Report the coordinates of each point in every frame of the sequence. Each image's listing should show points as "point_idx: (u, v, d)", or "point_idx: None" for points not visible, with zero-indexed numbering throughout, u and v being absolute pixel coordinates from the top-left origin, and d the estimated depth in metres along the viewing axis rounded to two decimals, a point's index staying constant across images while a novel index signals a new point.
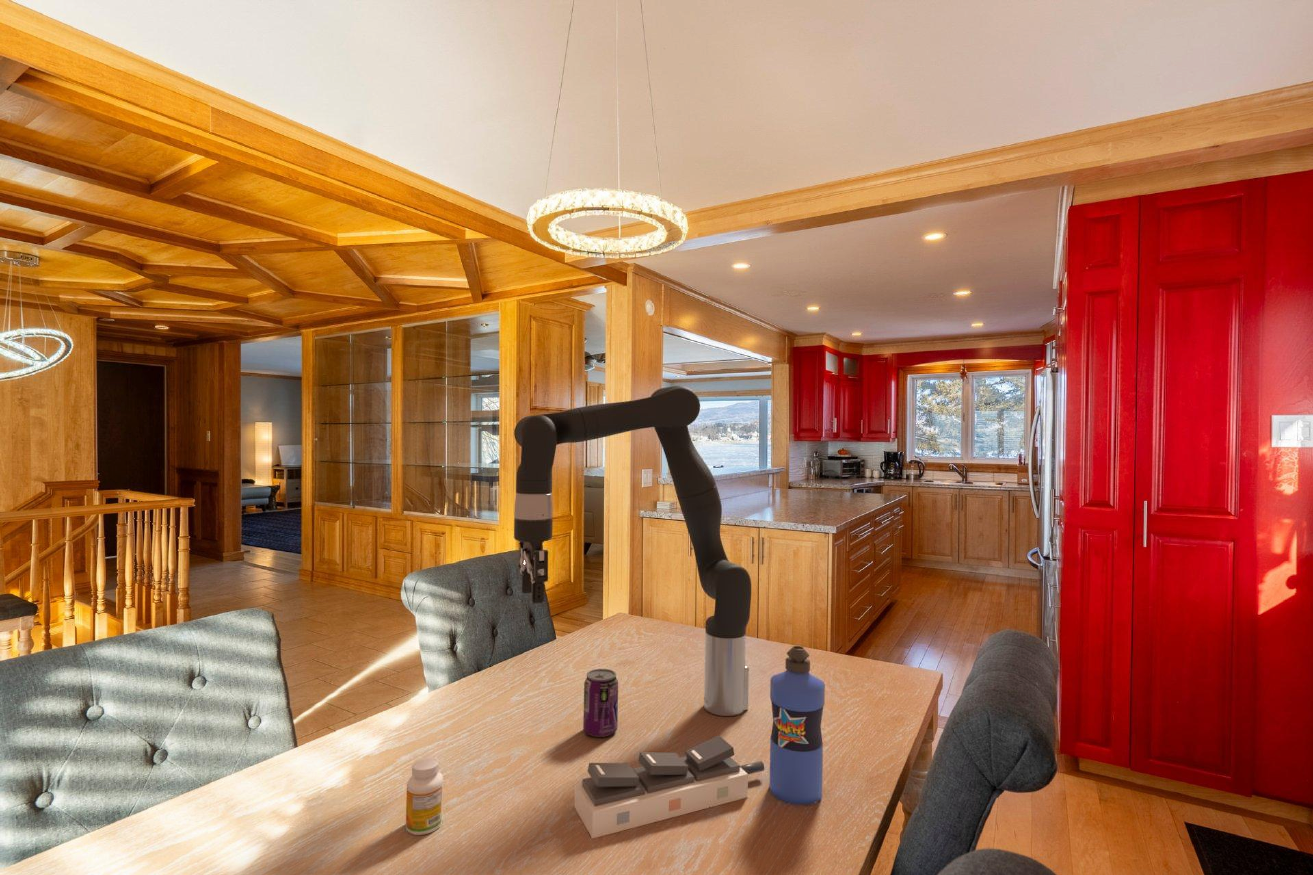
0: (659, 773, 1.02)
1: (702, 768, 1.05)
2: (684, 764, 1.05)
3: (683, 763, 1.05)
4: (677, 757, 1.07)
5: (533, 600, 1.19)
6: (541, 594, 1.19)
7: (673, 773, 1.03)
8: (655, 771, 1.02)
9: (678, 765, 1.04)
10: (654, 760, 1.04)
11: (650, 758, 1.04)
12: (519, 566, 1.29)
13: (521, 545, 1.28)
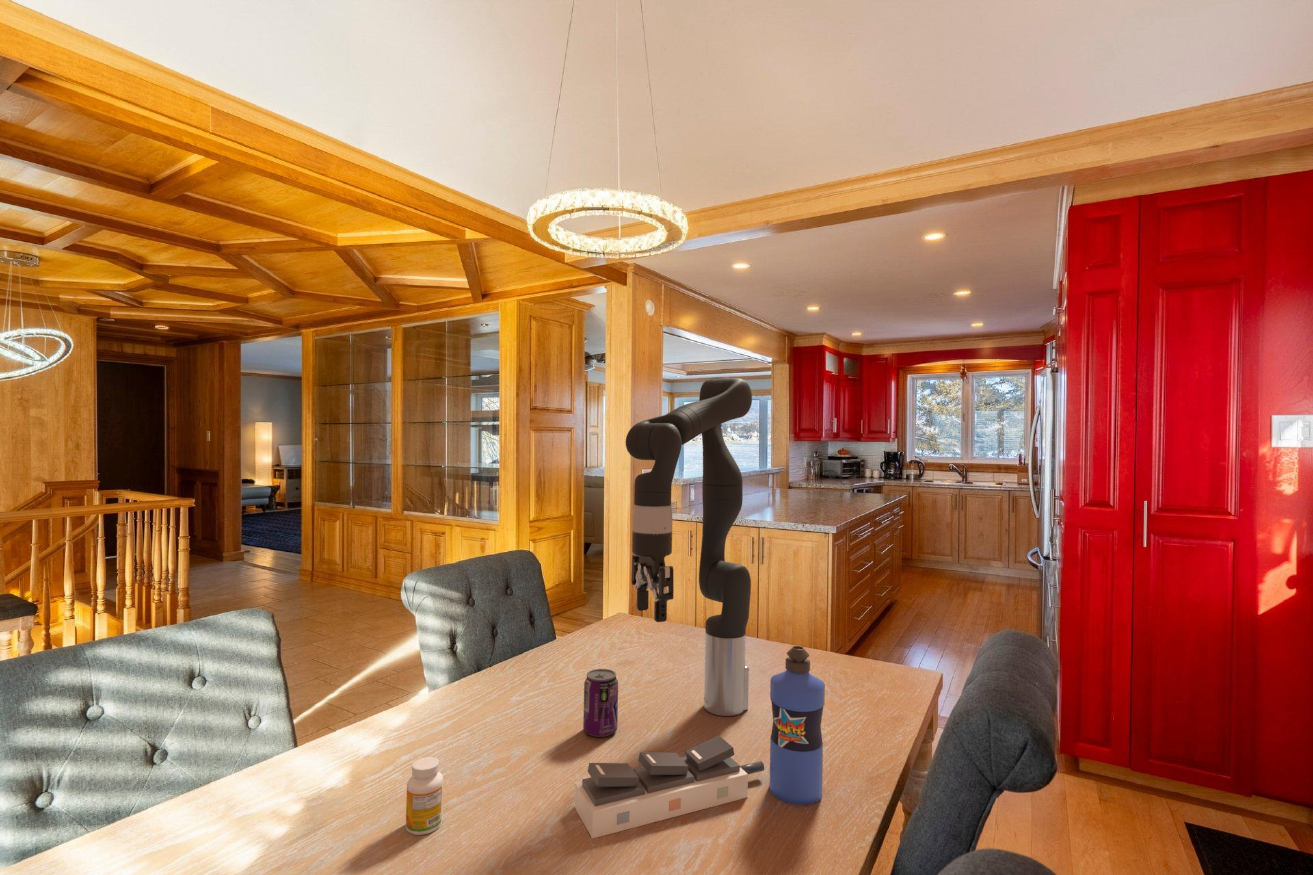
0: (659, 773, 1.02)
1: (702, 768, 1.05)
2: (684, 764, 1.05)
3: (683, 763, 1.05)
4: (677, 757, 1.07)
5: (656, 619, 1.13)
6: (665, 612, 1.13)
7: (673, 773, 1.03)
8: (655, 771, 1.02)
9: (678, 765, 1.04)
10: (654, 760, 1.04)
11: (650, 758, 1.04)
12: (633, 582, 1.22)
13: (635, 560, 1.22)
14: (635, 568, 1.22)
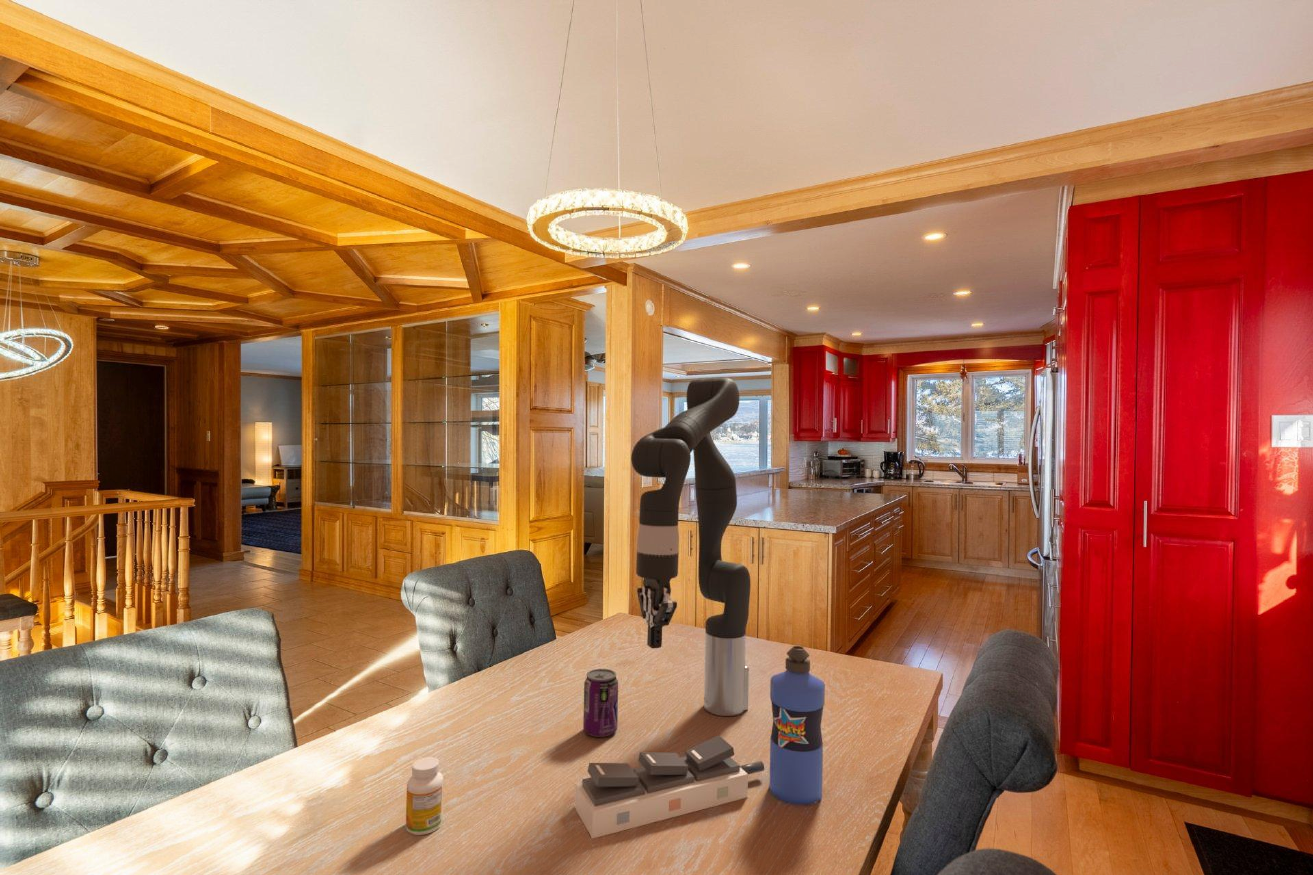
0: (659, 773, 1.02)
1: (702, 768, 1.05)
2: (684, 764, 1.05)
3: (683, 763, 1.05)
4: (677, 757, 1.07)
5: (651, 645, 1.10)
6: (660, 639, 1.10)
7: (673, 773, 1.03)
8: (655, 771, 1.02)
9: (678, 765, 1.04)
10: (654, 760, 1.04)
11: (650, 758, 1.04)
12: (643, 614, 1.13)
13: (640, 591, 1.16)
14: (642, 599, 1.15)
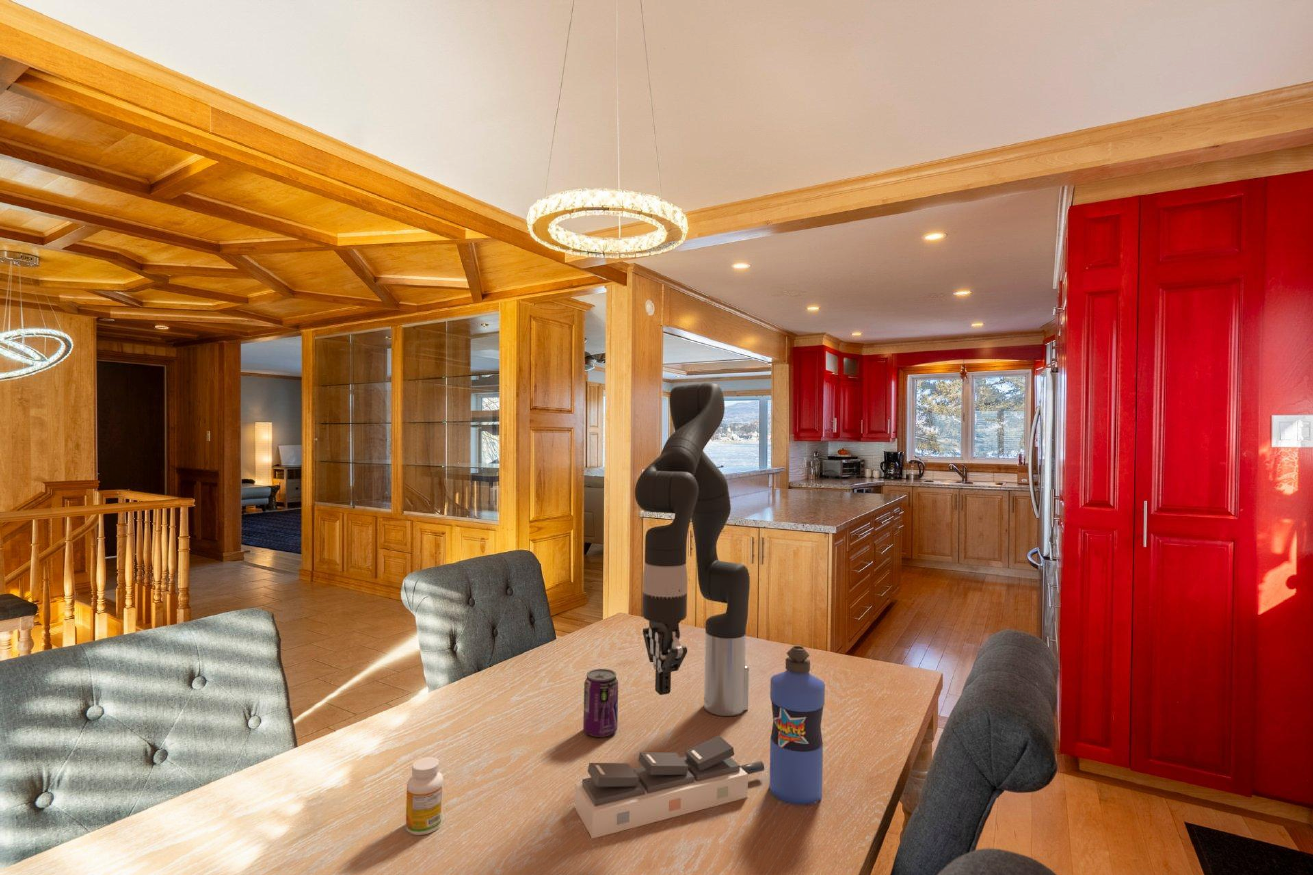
0: (659, 773, 1.02)
1: (702, 768, 1.05)
2: (684, 764, 1.05)
3: (683, 763, 1.05)
4: (677, 757, 1.07)
5: (660, 691, 1.04)
6: (669, 685, 1.04)
7: (673, 773, 1.03)
8: (655, 771, 1.02)
9: (678, 765, 1.04)
10: (654, 760, 1.04)
11: (650, 758, 1.04)
12: (650, 658, 1.07)
13: (646, 632, 1.09)
14: (649, 641, 1.08)
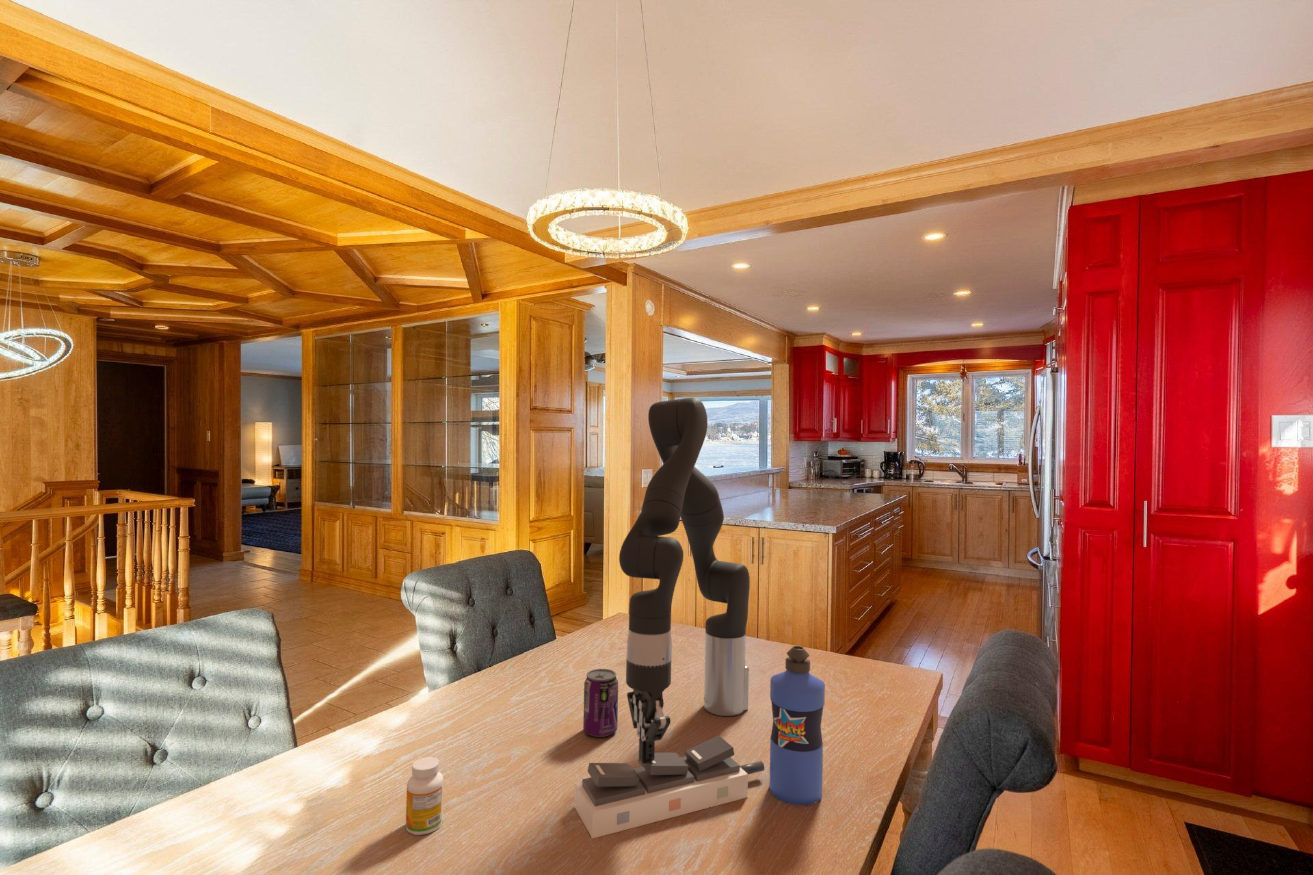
0: (659, 773, 1.02)
1: (702, 768, 1.05)
2: (684, 764, 1.05)
3: (683, 763, 1.05)
4: (677, 757, 1.07)
5: (643, 760, 1.03)
6: (652, 753, 1.03)
7: (673, 773, 1.03)
8: (655, 771, 1.02)
9: (678, 765, 1.04)
10: (654, 760, 1.04)
11: None
12: (634, 724, 1.05)
13: (630, 696, 1.08)
14: (633, 706, 1.07)
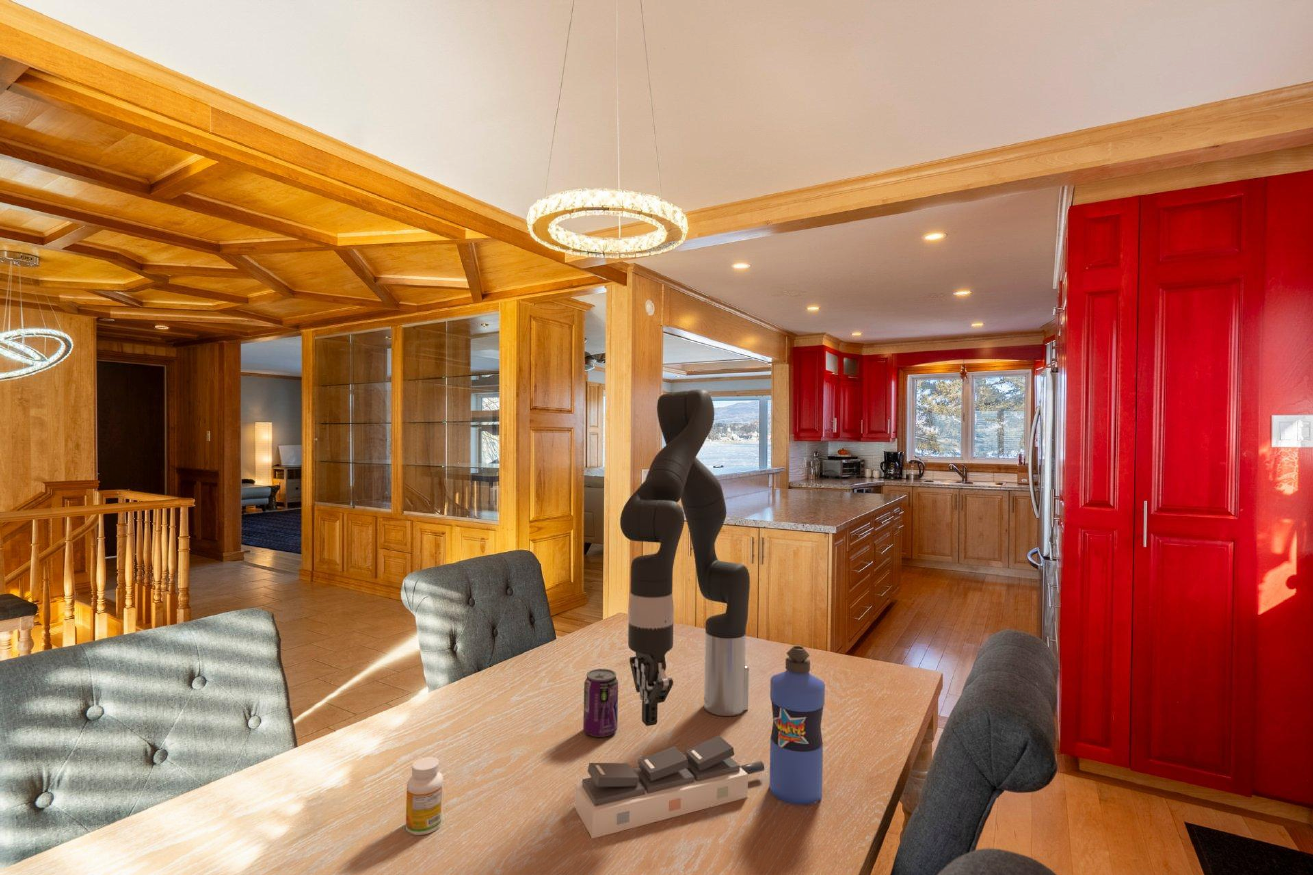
0: (660, 776, 1.02)
1: (702, 768, 1.05)
2: (683, 758, 1.05)
3: (682, 757, 1.05)
4: (676, 752, 1.07)
5: (646, 722, 1.03)
6: (655, 716, 1.03)
7: (674, 771, 1.03)
8: (655, 776, 1.02)
9: (677, 762, 1.04)
10: (652, 765, 1.03)
11: (648, 764, 1.04)
12: (637, 688, 1.06)
13: (633, 661, 1.08)
14: (635, 670, 1.07)
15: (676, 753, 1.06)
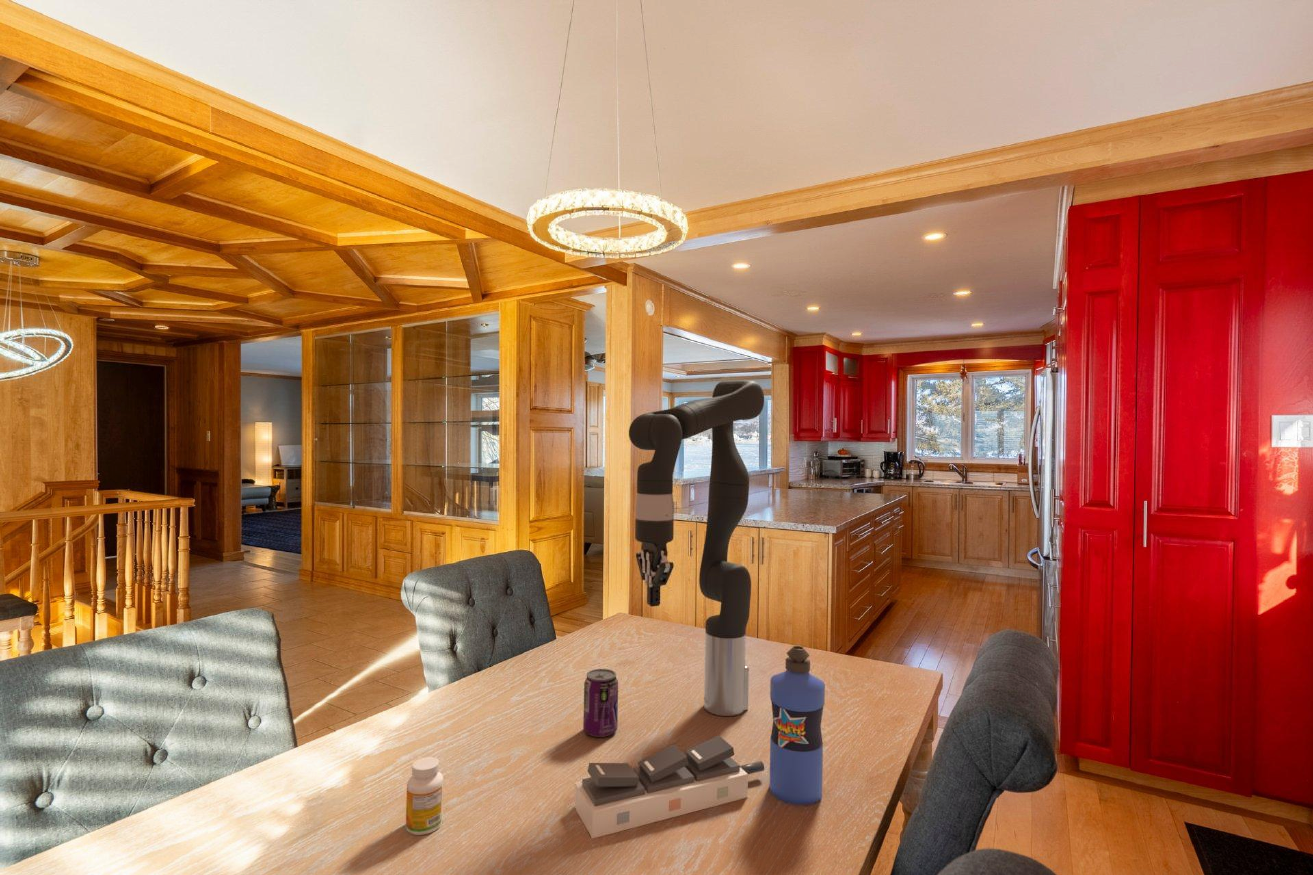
0: (660, 778, 1.02)
1: (702, 768, 1.05)
2: (682, 756, 1.05)
3: (681, 755, 1.05)
4: (675, 750, 1.07)
5: (651, 603, 1.21)
6: (658, 597, 1.21)
7: (674, 770, 1.03)
8: (656, 778, 1.02)
9: (676, 761, 1.04)
10: (652, 767, 1.03)
11: (648, 766, 1.04)
12: (643, 576, 1.23)
13: (639, 555, 1.26)
14: (641, 562, 1.25)
15: (675, 751, 1.06)
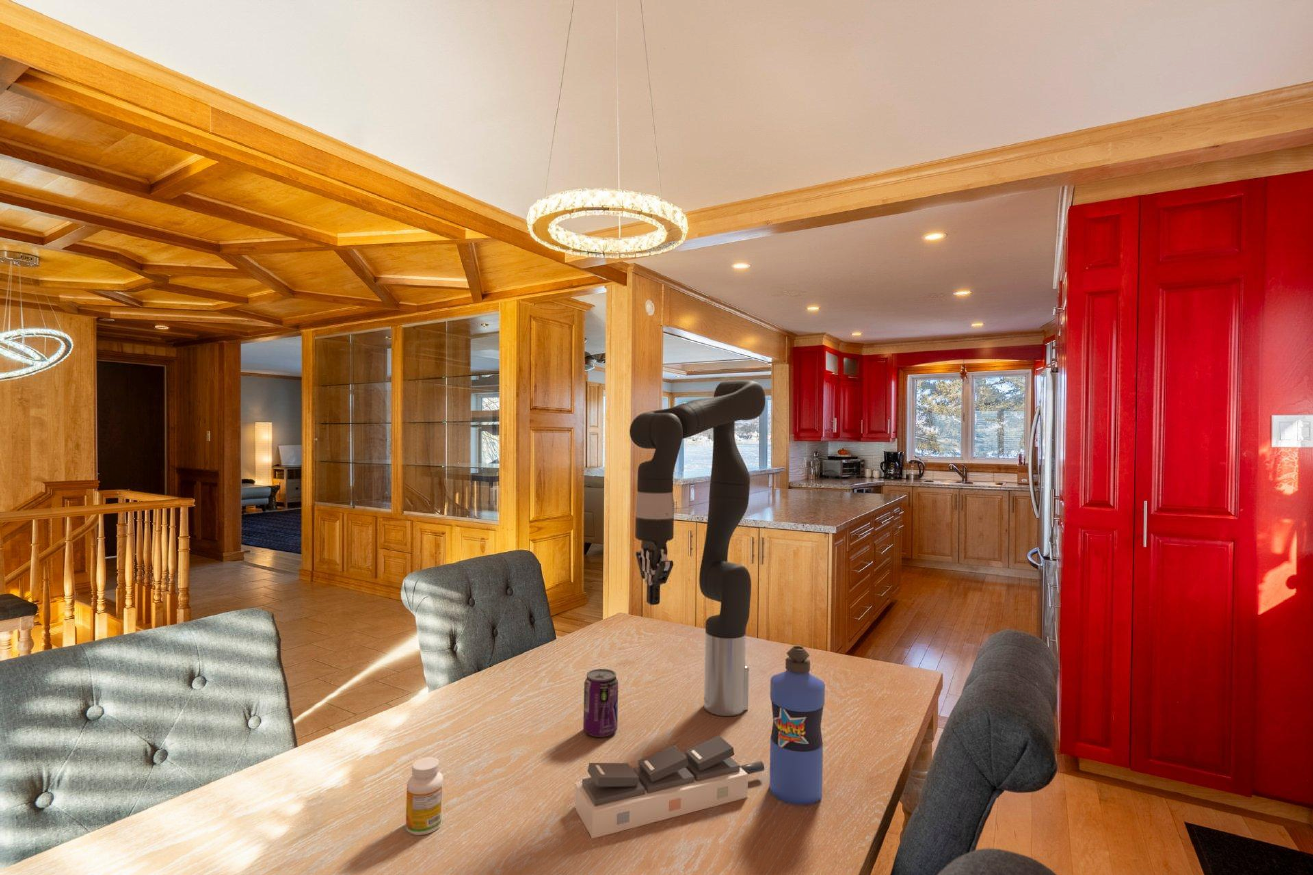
0: (660, 777, 1.02)
1: (702, 768, 1.05)
2: (683, 757, 1.05)
3: (682, 756, 1.05)
4: (675, 750, 1.07)
5: (650, 602, 1.21)
6: (658, 596, 1.21)
7: (674, 771, 1.03)
8: (655, 777, 1.02)
9: (677, 761, 1.04)
10: (652, 766, 1.03)
11: (648, 765, 1.04)
12: (642, 575, 1.23)
13: (639, 554, 1.26)
14: (641, 561, 1.25)
15: (676, 752, 1.06)
